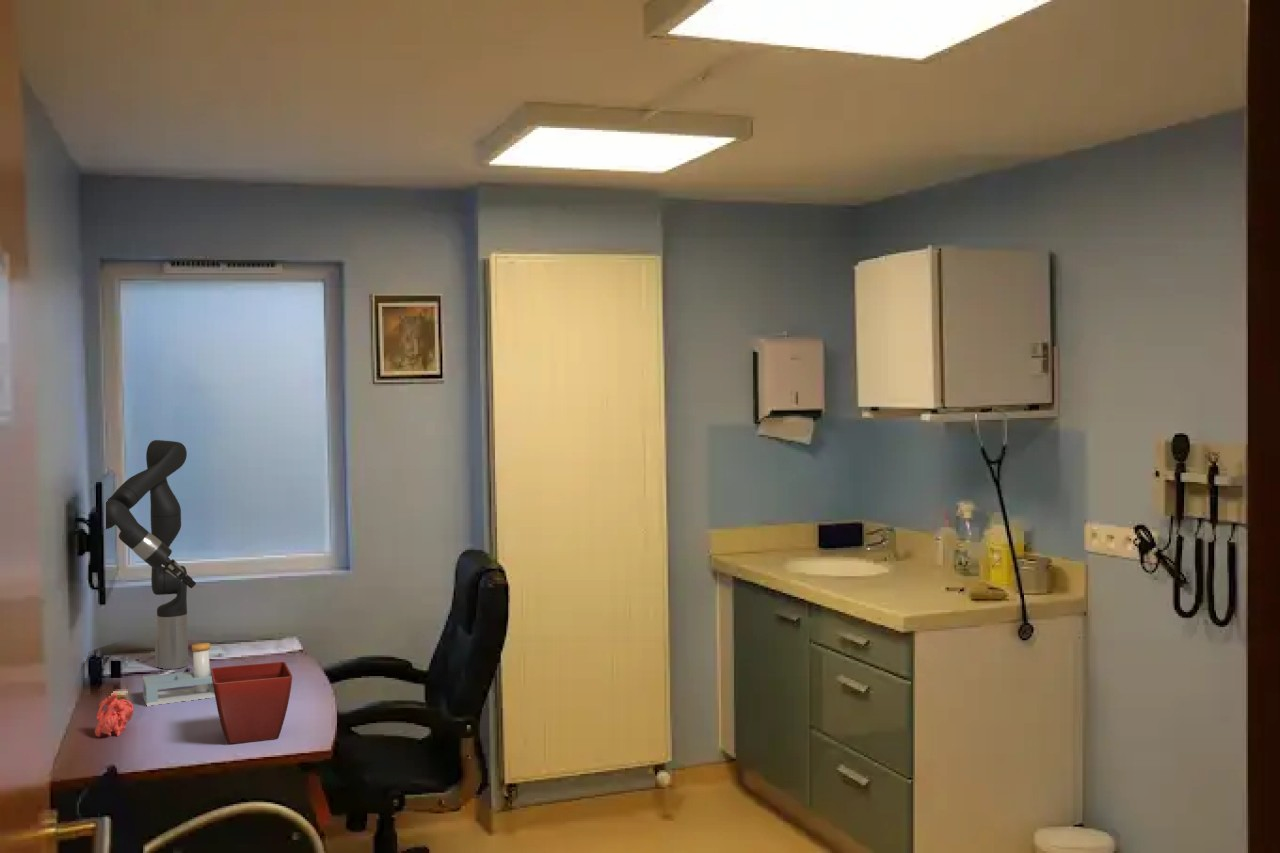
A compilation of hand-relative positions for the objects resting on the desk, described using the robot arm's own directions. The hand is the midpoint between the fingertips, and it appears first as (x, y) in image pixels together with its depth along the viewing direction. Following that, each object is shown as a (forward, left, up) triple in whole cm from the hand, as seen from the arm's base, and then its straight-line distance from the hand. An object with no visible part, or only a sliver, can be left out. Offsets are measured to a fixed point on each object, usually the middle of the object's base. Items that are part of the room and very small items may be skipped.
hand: (192, 584), depth 360 cm
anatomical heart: (+12, -54, -31) cm, 63 cm away
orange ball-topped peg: (+12, -14, -30) cm, 35 cm away
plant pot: (+49, -49, -31) cm, 76 cm away
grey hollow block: (+8, -17, -31) cm, 36 cm away
